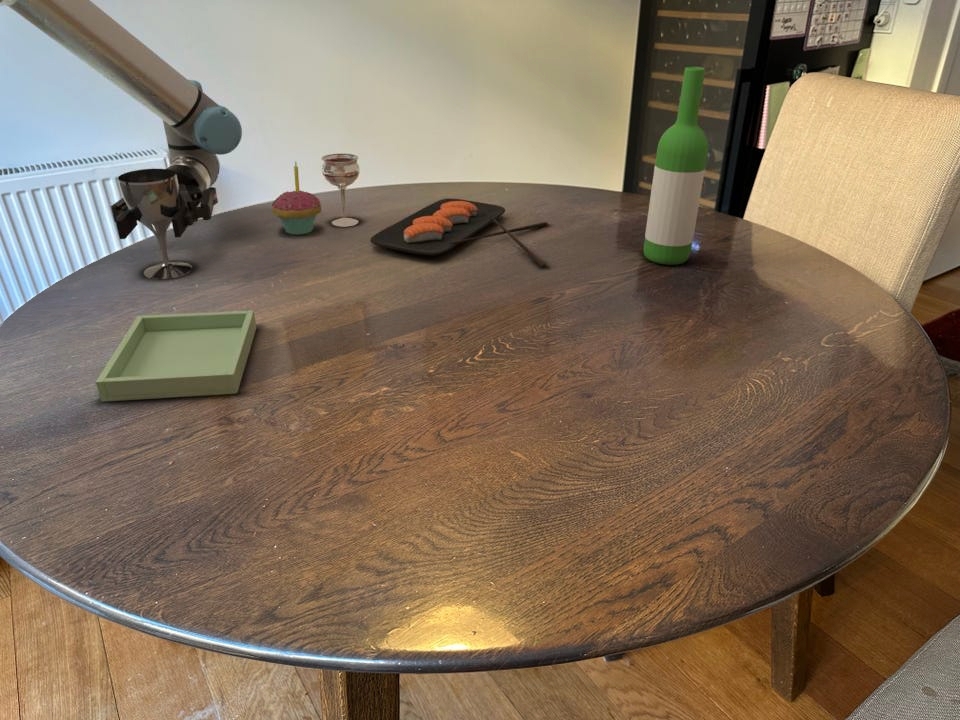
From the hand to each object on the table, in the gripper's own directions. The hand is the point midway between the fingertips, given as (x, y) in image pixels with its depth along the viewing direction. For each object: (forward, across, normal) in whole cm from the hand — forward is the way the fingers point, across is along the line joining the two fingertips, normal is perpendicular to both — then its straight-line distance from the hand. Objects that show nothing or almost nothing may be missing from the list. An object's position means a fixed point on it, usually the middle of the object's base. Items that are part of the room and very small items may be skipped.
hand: (148, 229), depth 102 cm
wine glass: (-5, 0, +9) cm, 10 cm away
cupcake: (-22, +19, +9) cm, 30 cm away
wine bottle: (-2, +81, +9) cm, 81 cm away
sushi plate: (-14, +51, +9) cm, 54 cm away
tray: (+25, +9, +8) cm, 28 cm away
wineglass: (-26, +27, +9) cm, 38 cm away
